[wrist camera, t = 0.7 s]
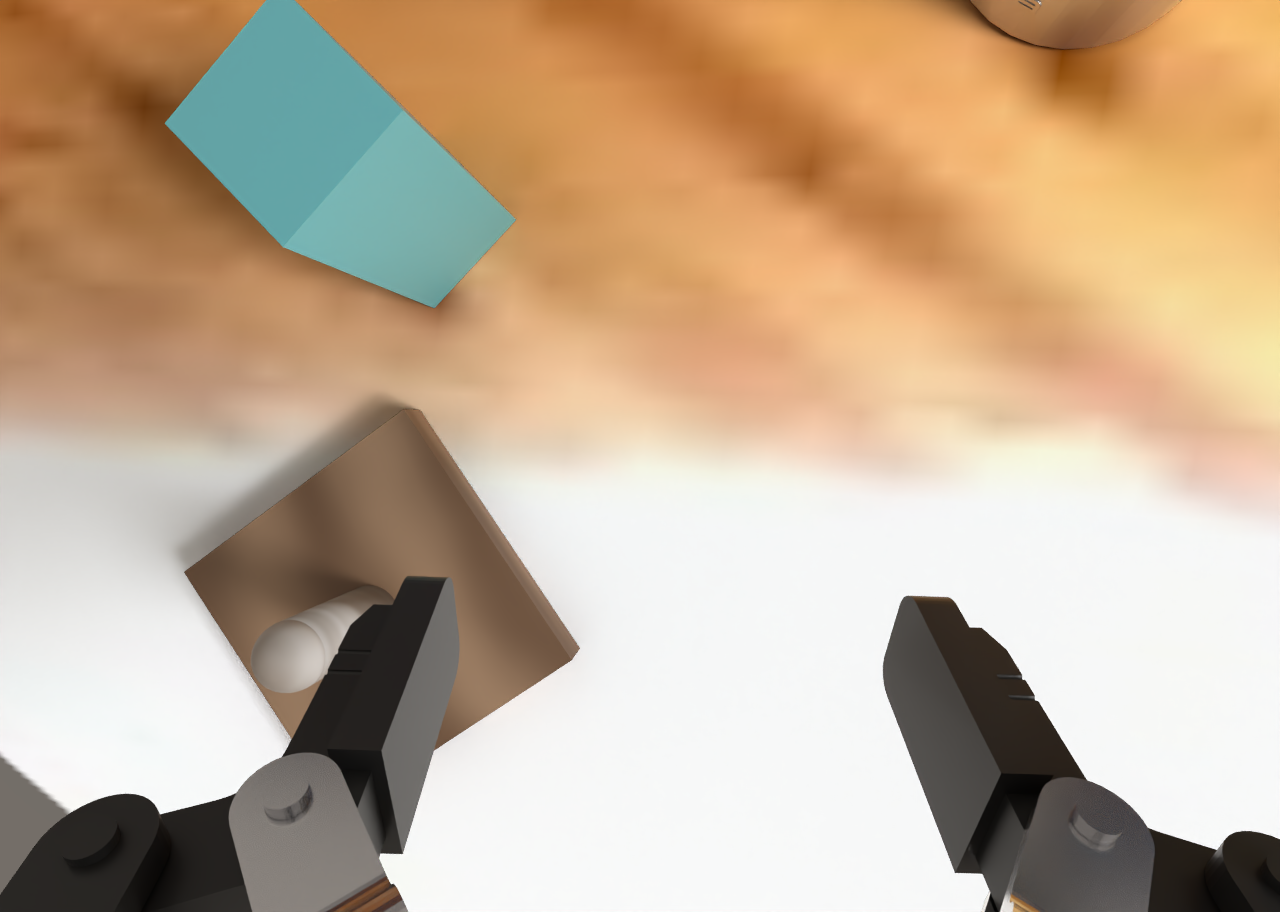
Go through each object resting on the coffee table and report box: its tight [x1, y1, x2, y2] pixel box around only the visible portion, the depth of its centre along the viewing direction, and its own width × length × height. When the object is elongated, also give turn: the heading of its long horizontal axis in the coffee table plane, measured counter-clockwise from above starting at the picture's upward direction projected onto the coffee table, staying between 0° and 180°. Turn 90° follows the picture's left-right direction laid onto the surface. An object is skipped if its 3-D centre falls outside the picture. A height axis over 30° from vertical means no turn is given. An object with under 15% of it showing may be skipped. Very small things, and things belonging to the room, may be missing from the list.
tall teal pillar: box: [165, 0, 516, 308], centre depth 24 cm, size 5×5×10 cm
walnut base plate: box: [184, 409, 580, 750], centre depth 26 cm, size 12×12×8 cm
